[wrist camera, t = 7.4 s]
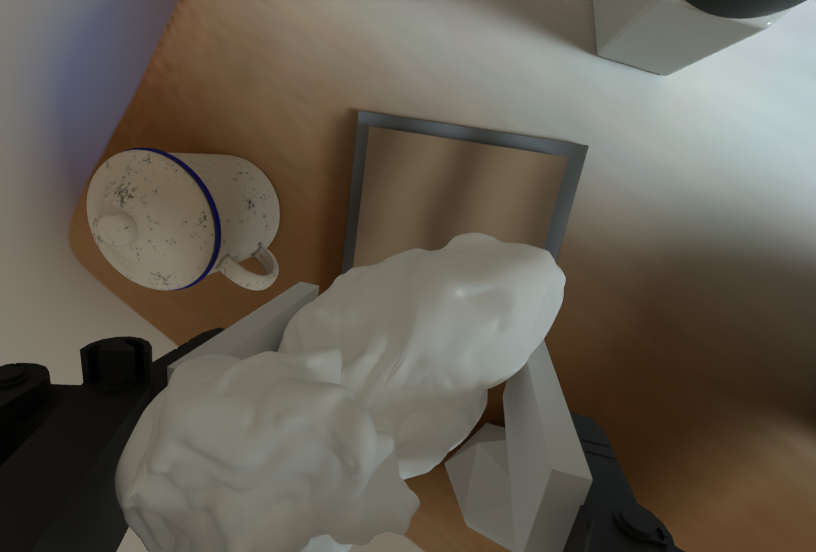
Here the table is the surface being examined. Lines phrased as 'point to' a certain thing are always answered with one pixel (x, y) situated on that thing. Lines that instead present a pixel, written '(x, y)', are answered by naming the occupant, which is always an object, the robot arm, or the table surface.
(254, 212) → the teacup with lid
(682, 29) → the jar
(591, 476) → the robot arm
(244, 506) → the bust
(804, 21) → the table surface
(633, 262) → the table surface
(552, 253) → the pedestal
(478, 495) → the die
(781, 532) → the table surface
